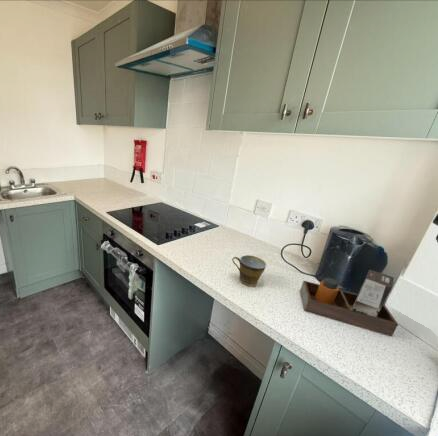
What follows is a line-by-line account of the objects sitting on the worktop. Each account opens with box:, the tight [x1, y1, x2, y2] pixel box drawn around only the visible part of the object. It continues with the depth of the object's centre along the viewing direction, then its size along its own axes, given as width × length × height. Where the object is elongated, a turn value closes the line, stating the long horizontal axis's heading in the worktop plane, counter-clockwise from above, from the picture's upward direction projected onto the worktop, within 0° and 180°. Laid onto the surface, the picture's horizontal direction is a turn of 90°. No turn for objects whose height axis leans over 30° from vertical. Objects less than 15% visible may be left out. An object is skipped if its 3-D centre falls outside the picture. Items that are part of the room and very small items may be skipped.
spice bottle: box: [314, 277, 340, 305], centre depth 88 cm, size 6×6×11 cm
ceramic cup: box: [231, 254, 267, 287], centre depth 102 cm, size 13×10×10 cm
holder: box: [299, 280, 399, 337], centre depth 87 cm, size 13×24×6 cm, turn 66°
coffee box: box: [352, 269, 395, 317], centre depth 83 cm, size 9×6×16 cm
